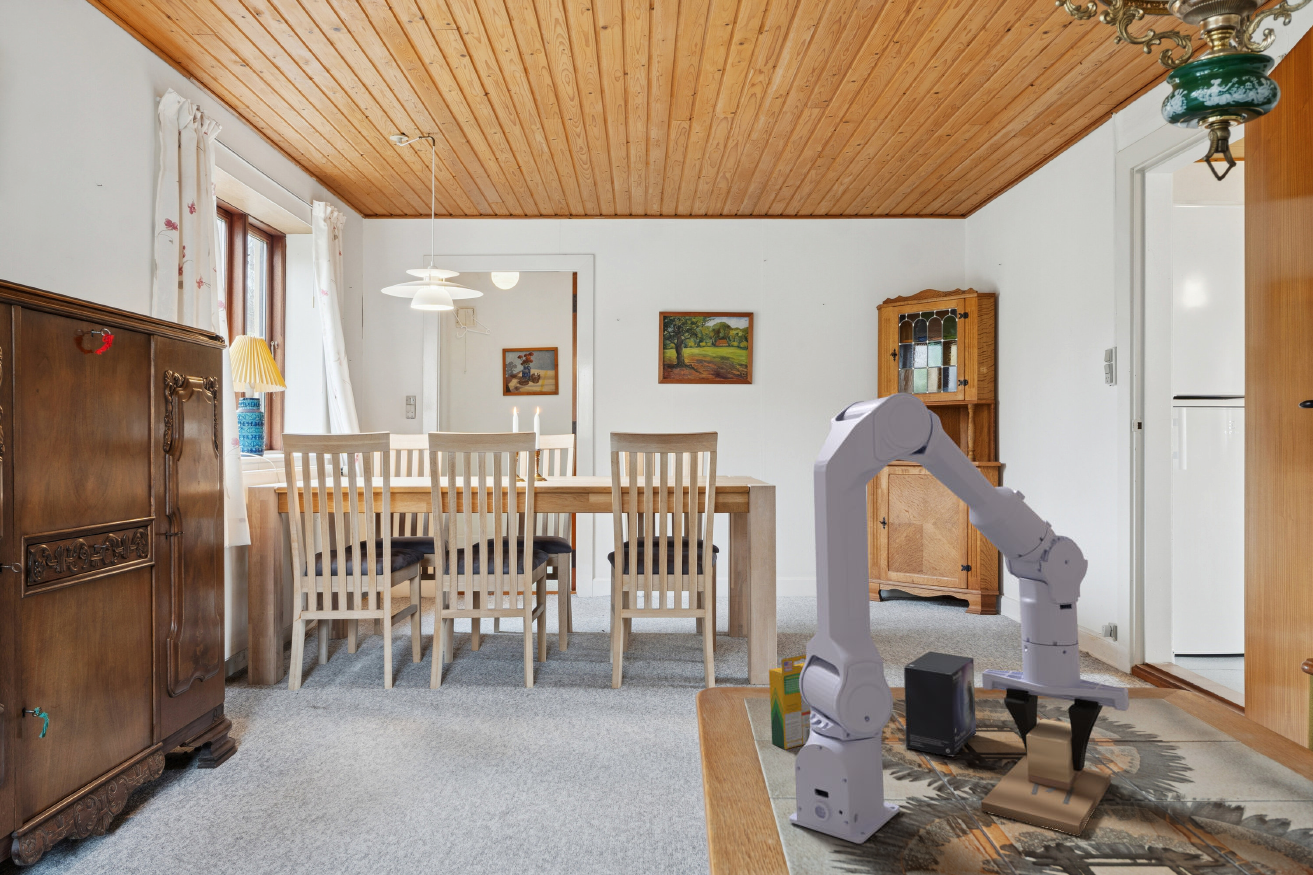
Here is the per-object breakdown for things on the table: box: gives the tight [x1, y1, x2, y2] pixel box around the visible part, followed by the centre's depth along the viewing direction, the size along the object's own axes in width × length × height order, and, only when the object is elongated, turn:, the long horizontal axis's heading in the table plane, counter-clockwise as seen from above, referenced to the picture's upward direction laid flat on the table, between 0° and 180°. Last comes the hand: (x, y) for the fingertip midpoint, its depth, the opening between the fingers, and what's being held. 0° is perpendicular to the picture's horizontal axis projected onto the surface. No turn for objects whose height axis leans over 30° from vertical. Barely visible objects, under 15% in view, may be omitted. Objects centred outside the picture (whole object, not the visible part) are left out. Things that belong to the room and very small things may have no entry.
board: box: [980, 755, 1112, 837], centre depth 81 cm, size 16×9×1 cm, turn 139°
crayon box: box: [768, 654, 811, 751], centre depth 100 cm, size 7×3×12 cm, turn 120°
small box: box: [903, 650, 977, 756], centre depth 99 cm, size 11×6×10 cm, turn 143°
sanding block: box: [1026, 718, 1083, 791], centre depth 84 cm, size 7×4×5 cm, turn 140°
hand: (1055, 763), depth 84 cm, fingers closed on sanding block, 4 cm apart
